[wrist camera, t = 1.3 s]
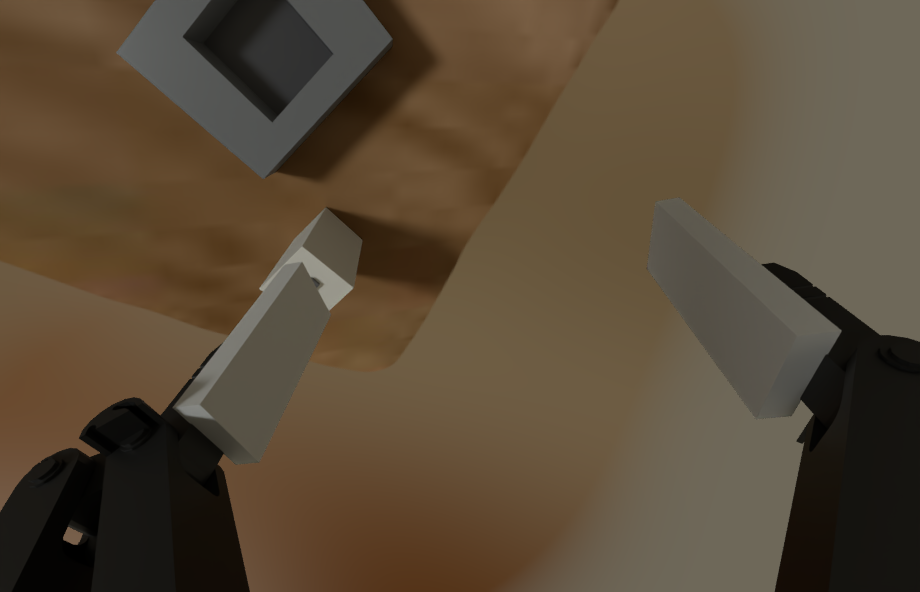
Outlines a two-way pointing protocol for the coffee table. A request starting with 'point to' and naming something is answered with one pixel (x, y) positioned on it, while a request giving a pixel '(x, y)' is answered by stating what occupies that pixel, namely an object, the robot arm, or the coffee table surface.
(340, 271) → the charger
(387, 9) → the coffee table surface
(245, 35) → the block
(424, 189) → the coffee table surface
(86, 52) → the coffee table surface
